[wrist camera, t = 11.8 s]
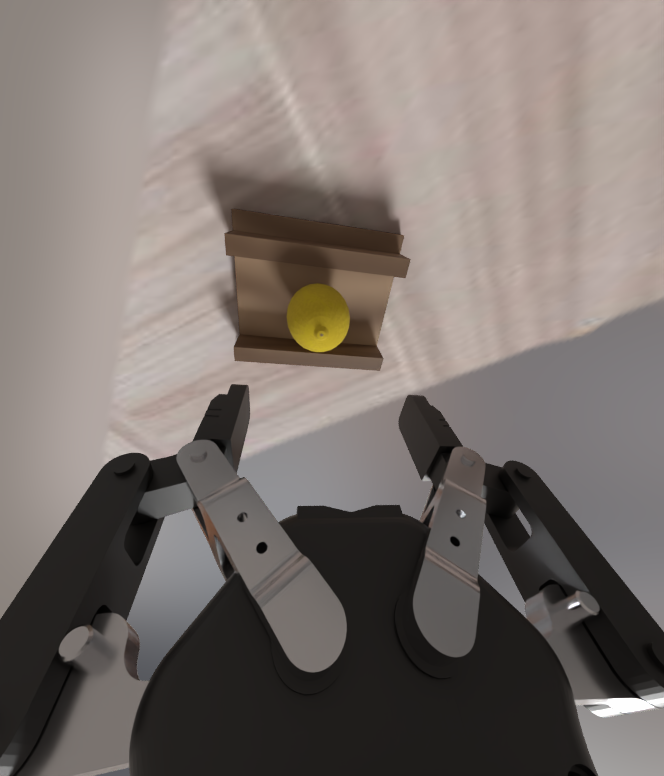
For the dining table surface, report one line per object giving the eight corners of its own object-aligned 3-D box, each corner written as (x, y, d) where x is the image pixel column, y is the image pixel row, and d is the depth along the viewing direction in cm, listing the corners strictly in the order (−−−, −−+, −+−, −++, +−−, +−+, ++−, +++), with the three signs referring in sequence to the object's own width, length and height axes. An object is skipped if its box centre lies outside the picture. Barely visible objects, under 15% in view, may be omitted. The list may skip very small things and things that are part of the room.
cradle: (233, 208, 22) (222, 209, 19) (400, 234, 25) (416, 239, 21) (242, 355, 30) (235, 373, 27) (369, 364, 33) (376, 382, 29)
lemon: (353, 295, 27) (371, 323, 20) (324, 339, 29) (331, 377, 22) (305, 262, 24) (308, 282, 18) (278, 313, 27) (271, 347, 20)
